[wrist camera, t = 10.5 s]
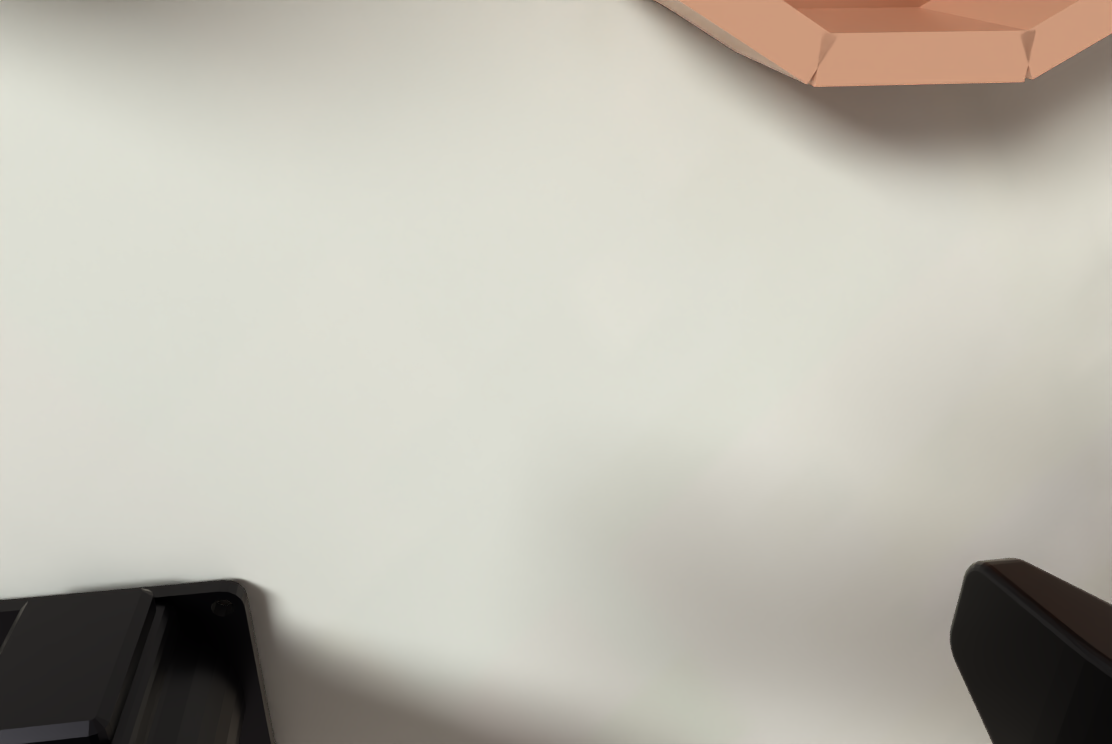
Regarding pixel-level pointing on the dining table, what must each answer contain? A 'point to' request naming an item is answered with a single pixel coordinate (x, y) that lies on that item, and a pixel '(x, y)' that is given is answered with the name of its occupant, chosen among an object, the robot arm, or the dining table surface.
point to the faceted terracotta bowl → (902, 37)
